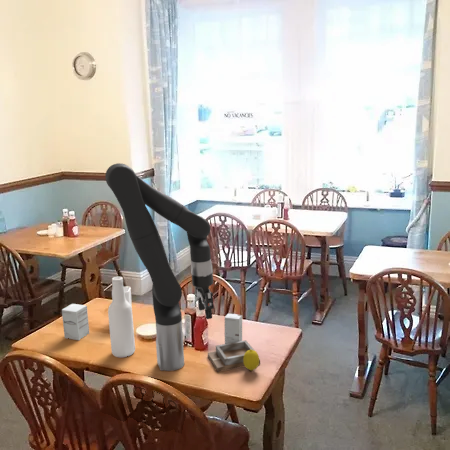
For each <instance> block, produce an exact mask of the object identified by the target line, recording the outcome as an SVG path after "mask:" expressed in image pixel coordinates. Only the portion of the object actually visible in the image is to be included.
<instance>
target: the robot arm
mask: <svg viewBox="0 0 450 450" xmlns="http://www.w3.org/2000/svg"><path fill="white" fill-rule="evenodd" d="M104 179H105V181H106V185H107V186H108V187H109V189H110V190H111V191H112V193H113V194H114V196H115V197H116V200H117V202H118V204H119V206H120V208H121V210H122V213H123V215H124V221H125V226H126V229H127V231H128V235H129V238H130V240H131V242H132V245H133V247H134V249H135V252H136V254H137V255H138V257H139V259H140V260H141V262H142V264H143V265H144V267H145V269H146V270H147V273H148V274H149V277H150V279H151V282H152V287H151V293H152V295H151V296H152V307H153V313H154V316H155V317H154V318H155V329H156V330H155V332H156V333H155V334H156V339H155V346H156V348H155V350H156V361H157V362H156V363H157V365H158V367H159V370H160V371H168V372H169V371H177V370H179V369H181V368H183V367H184V365H185V355H184V354H185V353H184V351H185V349H184V336H183V334H184V332H183V320H182V319H183V317H182V315H183V314H182V311H181V306H180V301H181V299H182V296H183V295H182V294H183V289H182V286H181V285H180V283H179V282H178V280H177V278H176V276H175V273H173V270H172V268H171V265H170V264H169V260H168V256H167V253H166V250H165V247H164V244H163V240H162V238H161V236H160V232H159V230H158V227H157V226H156V224H155V221H154V219H153V217H152V215H151V212H150V211H149V209H151V210H152V211H154V212H155V213H156V214H158V215H159V216H161V217H162V218H164V219H166V220H167V221H169V222H170V223H172V224H174V225H176V226H178V227H180V229H182V230H183V231H185V232H186V235H187V240H188V244H189V252H190V253H189V254H190V271H191V284H192V286H193V287H194V290H195V291H194V293H195V297H196V300H197V303H198V304H197V305H198V310H199V311H204V313H205V319H206V320H211V319H213V310H214V309H215V307H214V306H215V305H214V296H213V292H211V289H210V288H209V287H211V286H212V285H213V284H214V274H213V263H212V258H211V257H212V255H211V247H210V244H209V243H208V240H207V237H208V236H209V235H210V233H211V224H210V222H209V221H208V220H206V219H205V218H204V217H202V216H201V215H199V214H196V213H195V212H193V211H191V210H190V209H189V208H187V207H186V206H185V205H184V204H182V203H180V202H179V201H177V200H176V199H174V198H172V197H171V196H169V195H167V194H166V193H163V192H162V191H160V190H158V189H157V188H155V187H153V186H152V185H150V184H149V183H147V182H146V181H144V180H143V179H142V178H140V177H139V176H138V175H137V174H136V172H135V171H134V170H133V168H132V167H130V166H129V165H127V164H125V163H121V162H120V163H119V162H118V163H114V164H112V165H110V166H109V167H108V168H107V169H106V172H105V178H104ZM148 208H149V209H148Z"/></svg>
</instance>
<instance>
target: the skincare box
mask: <svg viewBox="0 0 450 450" xmlns="http://www.w3.org/2000/svg"><path fill="white" fill-rule="evenodd" d="M239 341H243V314H242V315H241V314H236V313H227V314H226V315H225V316H224V344H228V343H234V342H239Z"/></svg>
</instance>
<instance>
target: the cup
mask: <svg viewBox="0 0 450 450" xmlns="http://www.w3.org/2000/svg"><path fill="white" fill-rule="evenodd" d="M123 287H124V293H125V298H126V301H128V302H129V303H130V305H131V308H132V309H133V307H132V290H131V289H132V288H131V286H127V285H126V286H123ZM111 298H112V299H111V300H113V290H111Z"/></svg>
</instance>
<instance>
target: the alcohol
mask: <svg viewBox="0 0 450 450" xmlns="http://www.w3.org/2000/svg"><path fill="white" fill-rule="evenodd" d="M111 281H112V282H111V284H112V291H113V300H112V299H111V300H112V301H111V303H110V304H109V306H108V309H107V314H108V315H107V317H108V325H109V326H108V327H109V335H110V336H109V337H110V338H109V339H110V349H111V354H112V355H113V356H114V357H115V358H127V356H128V357H130V356H132V355H133V354H134V353H135V351H136V343H135V342H136V341H135V329H134V318H133V307H132V308H131V305H130V303H129V302H128V301H126V298H125V293H124V287H125V286H124V278H123V277H122V276H113V277H112V278H111Z"/></svg>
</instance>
